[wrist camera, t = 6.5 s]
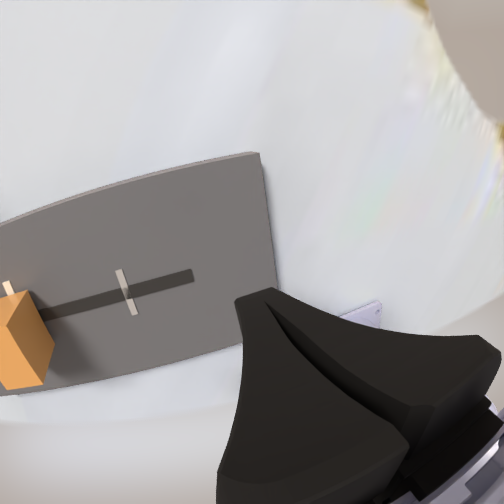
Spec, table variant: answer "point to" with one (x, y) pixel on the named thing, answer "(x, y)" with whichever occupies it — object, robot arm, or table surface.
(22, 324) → the fader knob
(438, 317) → the table surface
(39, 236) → the board
